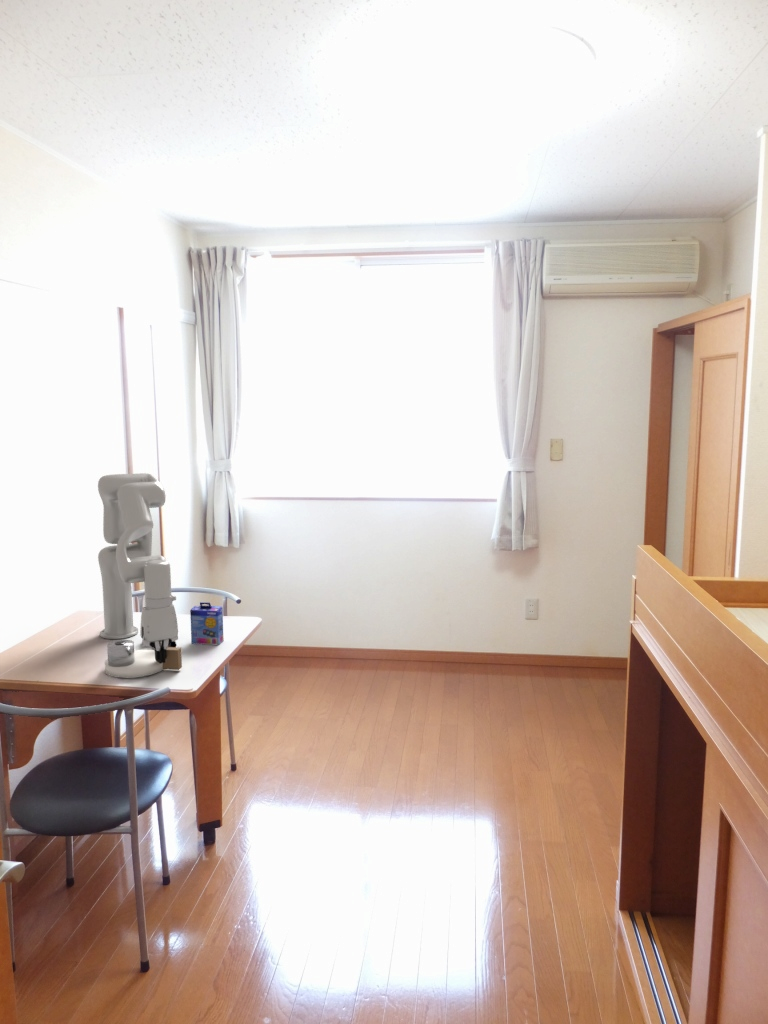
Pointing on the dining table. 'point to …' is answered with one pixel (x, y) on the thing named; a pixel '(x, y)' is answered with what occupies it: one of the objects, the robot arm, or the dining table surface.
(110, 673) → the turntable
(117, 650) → the silver metal cylinder
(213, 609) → the ink cartridge box
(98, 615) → the dining table surface
